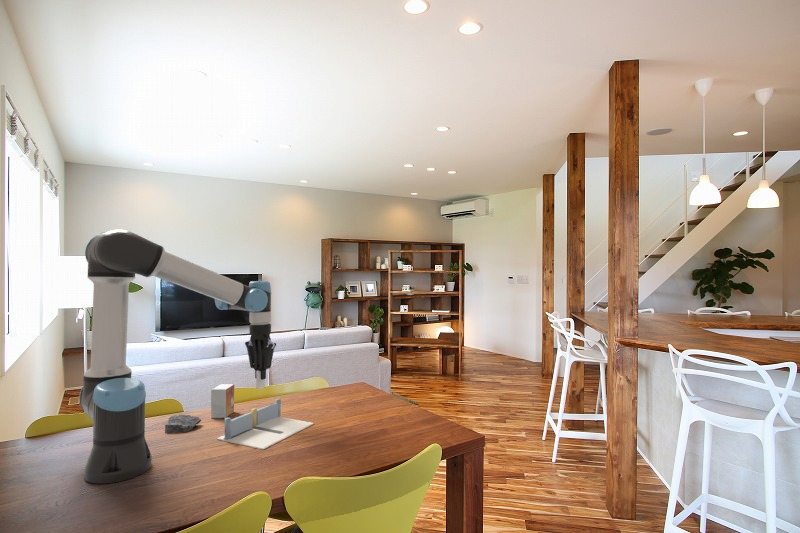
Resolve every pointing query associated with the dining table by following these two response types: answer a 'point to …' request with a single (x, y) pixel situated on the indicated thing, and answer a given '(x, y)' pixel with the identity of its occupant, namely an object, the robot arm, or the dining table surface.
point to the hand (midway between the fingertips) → (260, 387)
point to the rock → (181, 423)
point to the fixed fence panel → (237, 425)
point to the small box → (222, 401)
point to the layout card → (268, 433)
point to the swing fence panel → (266, 413)
